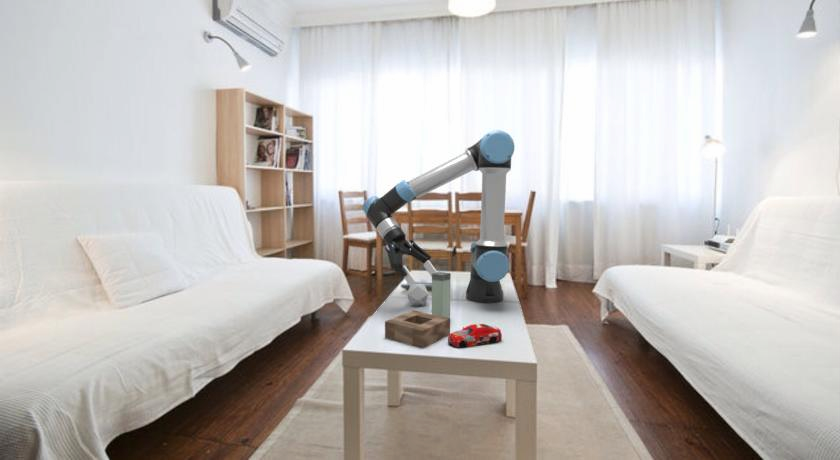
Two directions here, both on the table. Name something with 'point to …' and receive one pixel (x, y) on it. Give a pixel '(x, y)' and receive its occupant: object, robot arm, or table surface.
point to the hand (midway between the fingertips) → (425, 280)
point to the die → (417, 294)
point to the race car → (475, 335)
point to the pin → (441, 294)
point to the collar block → (417, 328)
